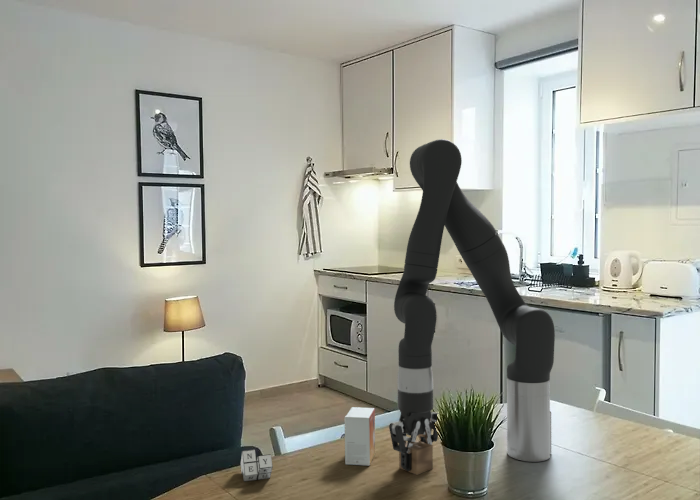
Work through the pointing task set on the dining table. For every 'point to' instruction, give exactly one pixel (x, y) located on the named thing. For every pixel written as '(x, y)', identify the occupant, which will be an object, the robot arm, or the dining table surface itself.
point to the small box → (359, 436)
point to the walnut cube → (420, 457)
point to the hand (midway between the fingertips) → (416, 465)
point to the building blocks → (255, 466)
